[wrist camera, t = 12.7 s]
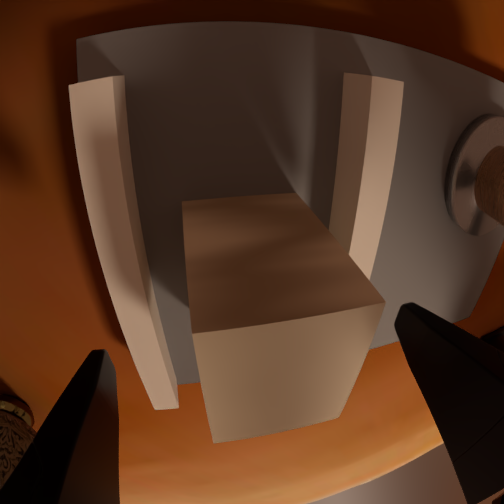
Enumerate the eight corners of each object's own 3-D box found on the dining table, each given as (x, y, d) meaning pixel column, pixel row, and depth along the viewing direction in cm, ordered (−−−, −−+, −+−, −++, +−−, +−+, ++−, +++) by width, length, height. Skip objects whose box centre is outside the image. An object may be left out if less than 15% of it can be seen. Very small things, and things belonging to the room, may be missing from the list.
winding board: (521, 95, 12) (559, 108, 9) (460, 306, 20) (482, 332, 18) (86, 41, 8) (56, 34, 5) (150, 369, 16) (151, 415, 14)
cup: (-25, 358, 14) (-56, 464, 7) (69, 405, 17) (62, 512, 11) (-29, 401, 16) (-47, 483, 9) (47, 437, 19) (41, 519, 13)
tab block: (296, 192, 11) (386, 302, 6) (286, 300, 14) (338, 417, 9) (181, 201, 11) (192, 333, 6) (194, 312, 13) (213, 443, 8)
